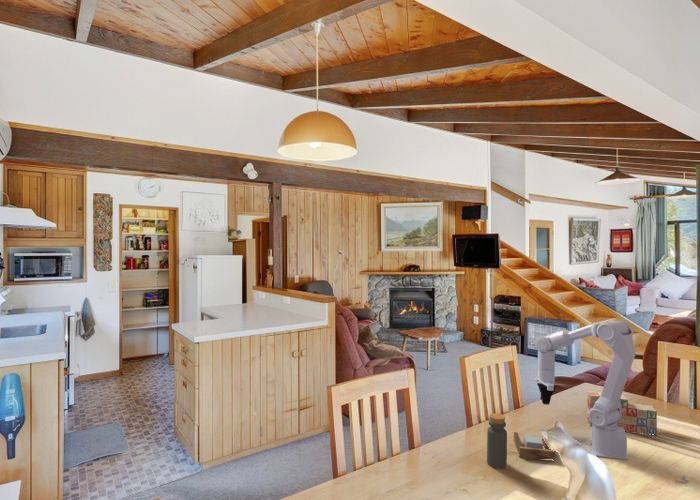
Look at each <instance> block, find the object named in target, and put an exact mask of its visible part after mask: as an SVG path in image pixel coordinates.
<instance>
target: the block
mask: <svg viewBox="0 0 700 500" xmlns="http://www.w3.org/2000/svg"><path fill="white" fill-rule="evenodd" d="M523 447H530V448H538V449H544V447H543V443H542V438H541V437H540V436H535V435H534V436H532V435H525V434H524V435H523Z"/></svg>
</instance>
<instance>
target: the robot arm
mask: <svg viewBox="0 0 700 500" xmlns="http://www.w3.org/2000/svg"><path fill="white" fill-rule="evenodd" d="M633 335H634V331H633V329H632V328H631V327H630V326H629V324H628V323H627V322H625V321H624V320H618V319H617V320H614V321H605V322H598V323H591V324H588V325H586V326H583V327H580V328H578V329H573V330H571V331H570V330H568V329H565V328H559V329H558V330H557V331H556V332H548V333H547V334H546V335H540V336H538V337H537V338H536V339H535V341H534V346H535V348H536V350H537V377H534V379H533V380H534V381H535V382H537V383H536V385H537V387H538V391H539V394H540V398H541V403H542V404H543V405H547V406H549V405H550V403H551V399H552V396H553V393H554V391H555V390H556V387H555V384H556V379H555V378H556V377H555V374H556V373H555V369H556V368H555V366H556V365H555V364H556V359H555V358H556V351H557V350H558V349H561V348H565V347H566V348H567V347H569V346H572V345H573V344H574V343H575V340H580V339H584V338H587V337H588V338H589V337H591V336H593V337H594V338H596V339H598V338H599V339H600V340H601V341H602V342H603V343H604V344H606V346H607V347H608V348H610V349H611V350H612V353H613V354H614V355H613V357H612V361H611V364H610V367H609V370H608V373H607V376H606V379H605V382H604V386H603V387H602V390H601V392H602V394H601V396H600V398H599V399H598V400H597V401H596V402H595V405H594V407H593V408H591V409H590V410H589V413H588V412H587V417H588V416H589V419H590V421H591V422H592V427H591V429H592V430H591V431H592V433H591V435H592V436H591V438H592V439H591V443H588V444H587V447H589V449H590V451H591V452H592V453H593V455H594V454H595V455H596V456H595V455H594V456H595V457H600V458H609V459H618V460H627V461H628V458H629V457H627V455H628V454H627V453H628V439H627V432H625V430H624V428H622V427H618V425H617V422H618V421H620V419H621V417H622V414H621V407H622V405H621V403H620V402H619V401H620V398H621V395H622V394H623V392H624V389H625V386H626V383H627V381H628V378H629V375H630V371H631V370H632V369H631V368H632V366H633V363H634V360H635V357H636V353H637V352H636V346H635V343H634V338H633Z"/></svg>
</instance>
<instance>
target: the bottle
mask: <svg viewBox="0 0 700 500" xmlns="http://www.w3.org/2000/svg"><path fill="white" fill-rule="evenodd" d="M506 423H507V422H506V416H505V415H503V414H501V413H494V412H492V413H489V420H488V425H489V427H488V428H487V430H486V431H487V432H486V464H487V465H488V466H490V467H491V468H495V469H499V470H500V469H504V468H506V467H507V464H508V461H507V459H508V458H507V457H508V431H507V430H506V429H505V428H506V426H507V424H506Z"/></svg>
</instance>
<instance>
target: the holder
mask: <svg viewBox="0 0 700 500" xmlns="http://www.w3.org/2000/svg"><path fill="white" fill-rule="evenodd" d="M541 441H542V443H543V446H544V447H543V449H538V448H530V447H524V444H523V442H522V441H521V438H520V435H519V432H516V431H515V432H513V442H514V445H515V448H516V451H517V453H518V456H519V458H523V459H532V460H538V459H553V460H554V459H555V460H556V458H555V457H556V450H554V449H553V450H554V451H553V450H551V449H549V447H548V446H547V444H546V443H545V441H544V439H543V438H542V437H541ZM544 448H545V449H544Z"/></svg>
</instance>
